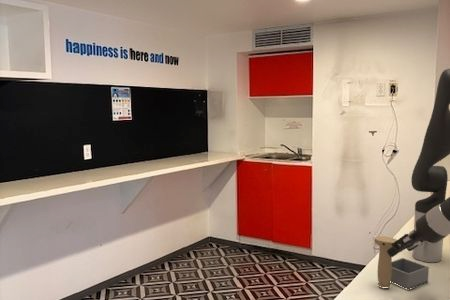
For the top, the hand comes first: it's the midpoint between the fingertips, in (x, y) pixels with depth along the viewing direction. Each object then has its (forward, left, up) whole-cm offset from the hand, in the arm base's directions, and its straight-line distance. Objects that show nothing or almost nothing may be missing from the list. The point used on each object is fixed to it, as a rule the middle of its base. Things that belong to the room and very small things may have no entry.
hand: (398, 251), depth 123 cm
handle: (0, -4, -13) cm, 14 cm away
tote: (-9, -3, -13) cm, 16 cm away
